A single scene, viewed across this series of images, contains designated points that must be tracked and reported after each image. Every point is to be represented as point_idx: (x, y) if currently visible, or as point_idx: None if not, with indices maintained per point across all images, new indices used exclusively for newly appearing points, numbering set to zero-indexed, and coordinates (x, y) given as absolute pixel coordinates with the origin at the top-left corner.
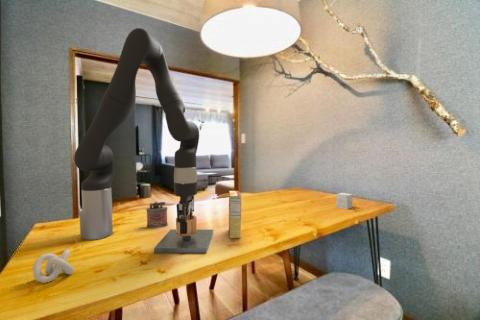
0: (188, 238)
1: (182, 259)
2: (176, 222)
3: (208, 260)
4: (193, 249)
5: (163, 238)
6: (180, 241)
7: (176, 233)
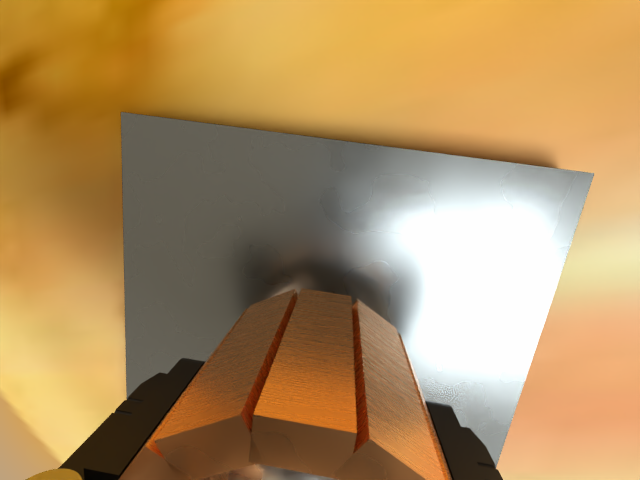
0: None
1: (70, 322)
2: (226, 380)
3: (70, 447)
4: None
5: (330, 148)
6: (244, 309)
7: (280, 295)
